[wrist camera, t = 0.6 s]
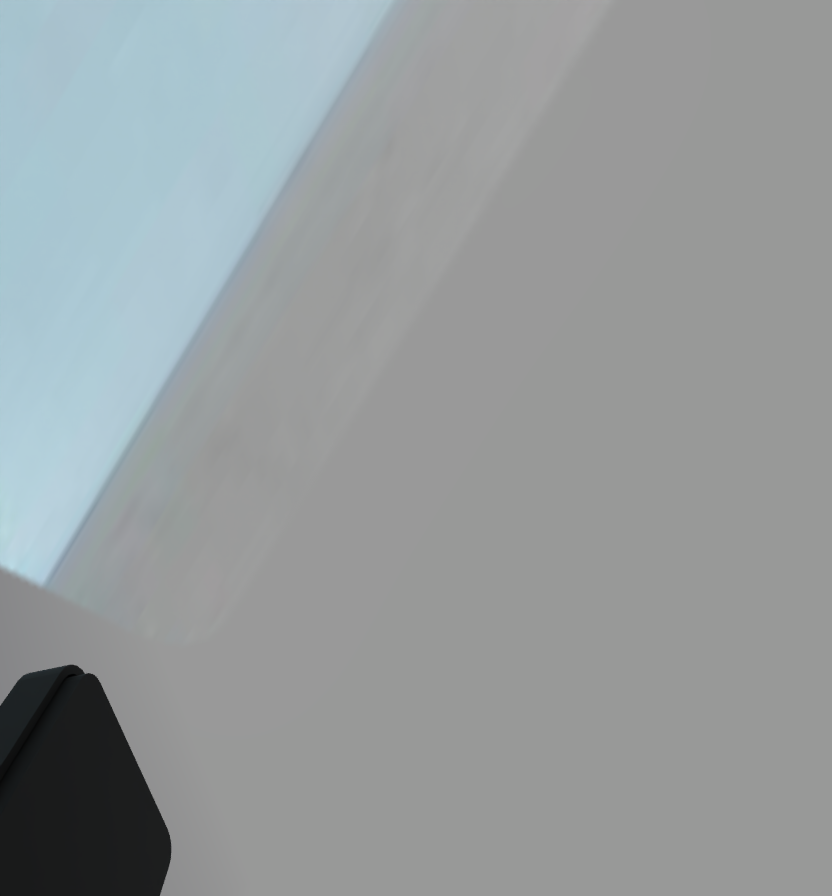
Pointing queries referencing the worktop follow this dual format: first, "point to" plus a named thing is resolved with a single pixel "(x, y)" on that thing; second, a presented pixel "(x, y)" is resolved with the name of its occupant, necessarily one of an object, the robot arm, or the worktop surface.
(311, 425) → the worktop surface
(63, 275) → the worktop surface
